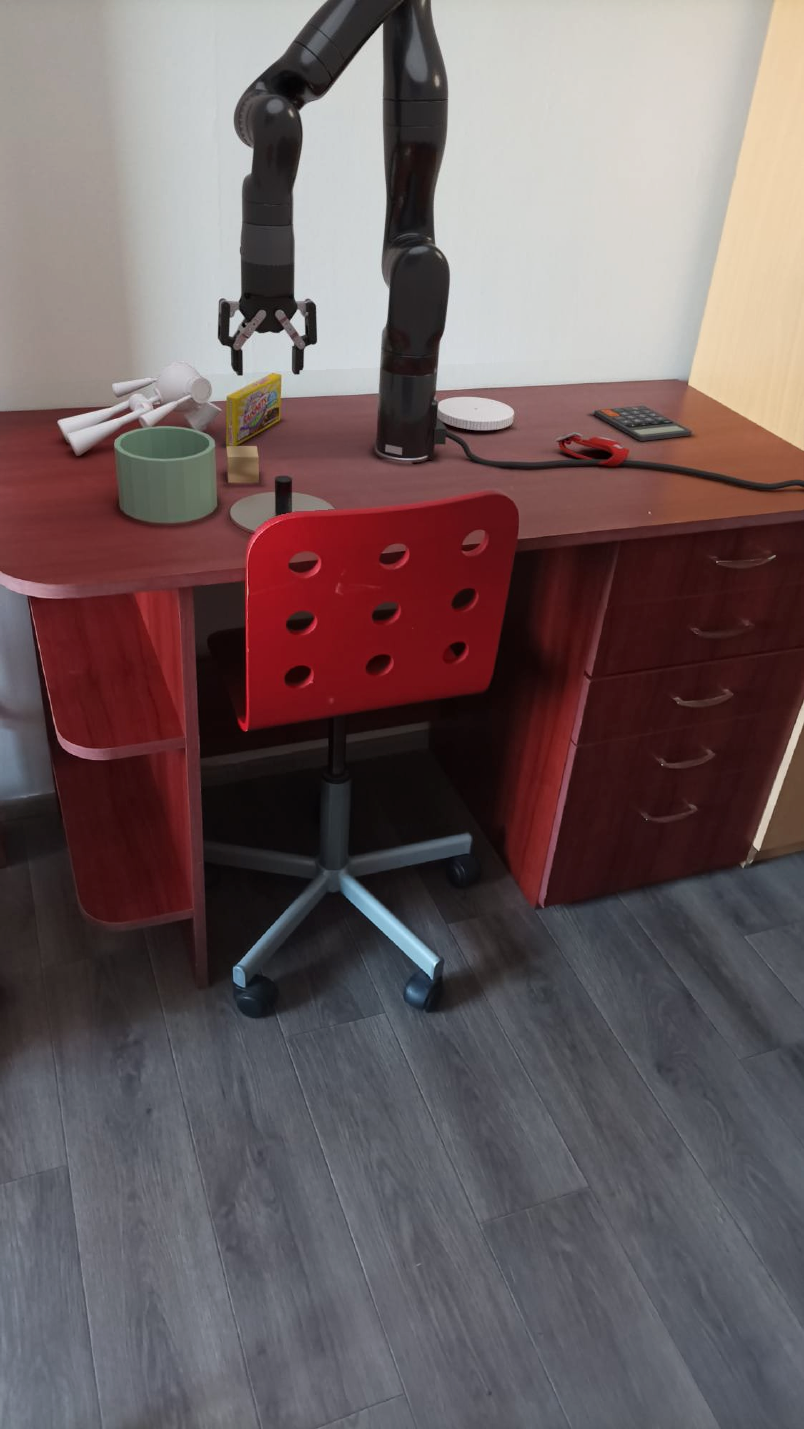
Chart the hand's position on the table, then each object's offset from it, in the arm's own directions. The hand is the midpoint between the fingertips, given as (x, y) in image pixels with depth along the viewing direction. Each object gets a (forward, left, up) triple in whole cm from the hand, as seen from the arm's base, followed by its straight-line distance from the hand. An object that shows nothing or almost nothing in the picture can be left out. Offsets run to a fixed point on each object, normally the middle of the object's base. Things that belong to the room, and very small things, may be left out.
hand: (267, 373), depth 155 cm
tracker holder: (-56, -7, -15) cm, 58 cm away
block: (+4, +3, -15) cm, 16 cm away
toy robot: (+19, -14, -15) cm, 28 cm away
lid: (-1, +18, -15) cm, 24 cm away
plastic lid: (-39, -24, -15) cm, 48 cm away
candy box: (+1, -18, -15) cm, 23 cm away
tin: (+15, +13, -15) cm, 25 cm away
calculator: (-71, -23, -15) cm, 76 cm away
